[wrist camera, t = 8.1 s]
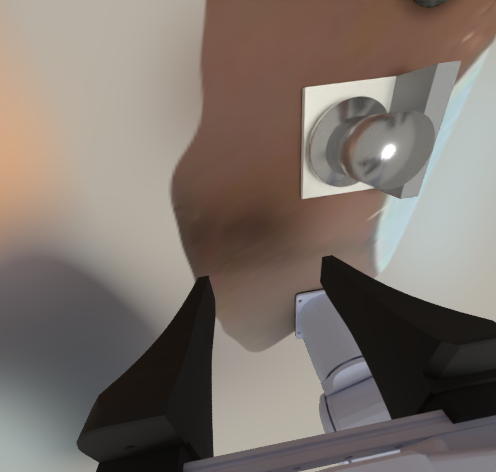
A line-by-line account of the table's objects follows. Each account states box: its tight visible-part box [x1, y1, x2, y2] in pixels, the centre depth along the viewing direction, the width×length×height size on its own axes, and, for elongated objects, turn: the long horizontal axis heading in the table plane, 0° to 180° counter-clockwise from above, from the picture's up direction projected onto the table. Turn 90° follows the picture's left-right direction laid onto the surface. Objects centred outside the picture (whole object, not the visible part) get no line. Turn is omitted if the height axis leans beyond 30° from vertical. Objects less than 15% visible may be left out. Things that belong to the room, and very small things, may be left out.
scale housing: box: [301, 61, 461, 199], centre depth 16 cm, size 9×9×4 cm
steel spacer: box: [326, 111, 435, 190], centre depth 14 cm, size 4×4×5 cm
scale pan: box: [307, 96, 388, 187], centre depth 17 cm, size 7×7×1 cm
